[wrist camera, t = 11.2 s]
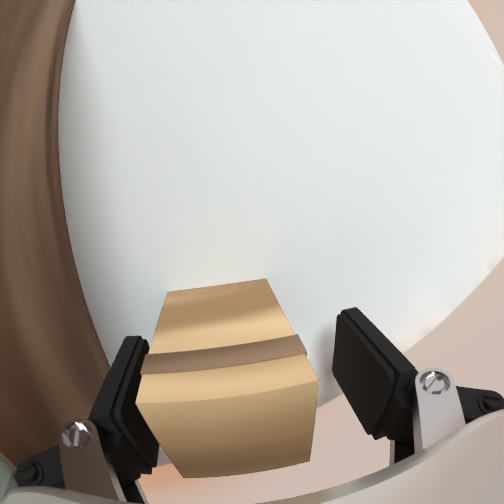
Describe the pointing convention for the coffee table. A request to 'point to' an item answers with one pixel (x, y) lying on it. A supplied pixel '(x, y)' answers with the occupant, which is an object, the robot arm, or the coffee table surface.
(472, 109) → the coffee table surface
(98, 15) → the coffee table surface
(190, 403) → the wooden block
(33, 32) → the open brown wooden box
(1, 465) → the lid
